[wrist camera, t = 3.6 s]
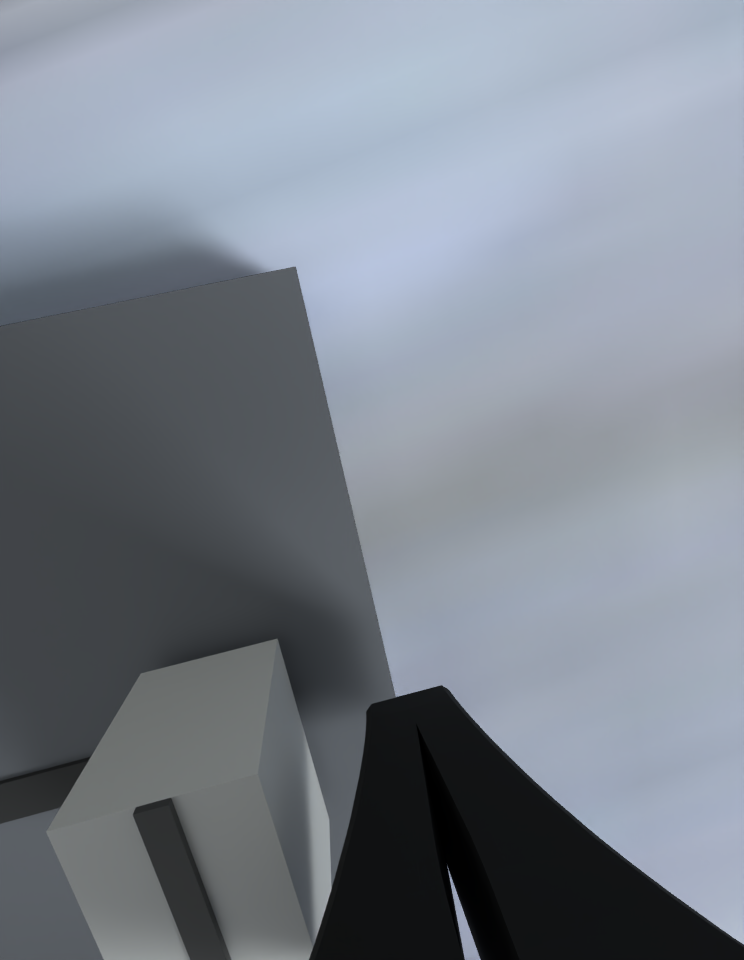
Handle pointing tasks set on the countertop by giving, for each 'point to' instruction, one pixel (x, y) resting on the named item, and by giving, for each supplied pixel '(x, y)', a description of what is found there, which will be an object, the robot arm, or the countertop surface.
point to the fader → (201, 818)
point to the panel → (165, 550)
